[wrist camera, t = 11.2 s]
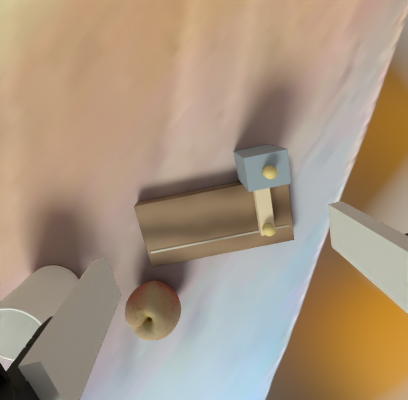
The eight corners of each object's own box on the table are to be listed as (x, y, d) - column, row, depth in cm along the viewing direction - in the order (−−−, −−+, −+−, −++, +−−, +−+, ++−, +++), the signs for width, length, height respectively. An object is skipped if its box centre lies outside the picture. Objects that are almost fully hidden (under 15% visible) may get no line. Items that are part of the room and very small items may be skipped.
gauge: (233, 151, 36) (245, 159, 27) (268, 144, 35) (291, 150, 27) (246, 227, 39) (260, 257, 30) (277, 221, 39) (301, 249, 30)
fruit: (166, 263, 40) (158, 296, 33) (189, 300, 43) (188, 338, 35) (124, 284, 41) (107, 320, 34) (149, 319, 43) (139, 360, 36)
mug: (109, 275, 41) (81, 323, 31) (101, 315, 43) (72, 372, 33) (34, 257, 40) (-20, 301, 30) (29, 300, 42) (-23, 354, 32)
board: (137, 202, 37) (133, 206, 35) (282, 173, 37) (287, 175, 35) (154, 260, 40) (151, 267, 38) (289, 234, 39) (294, 240, 37)
